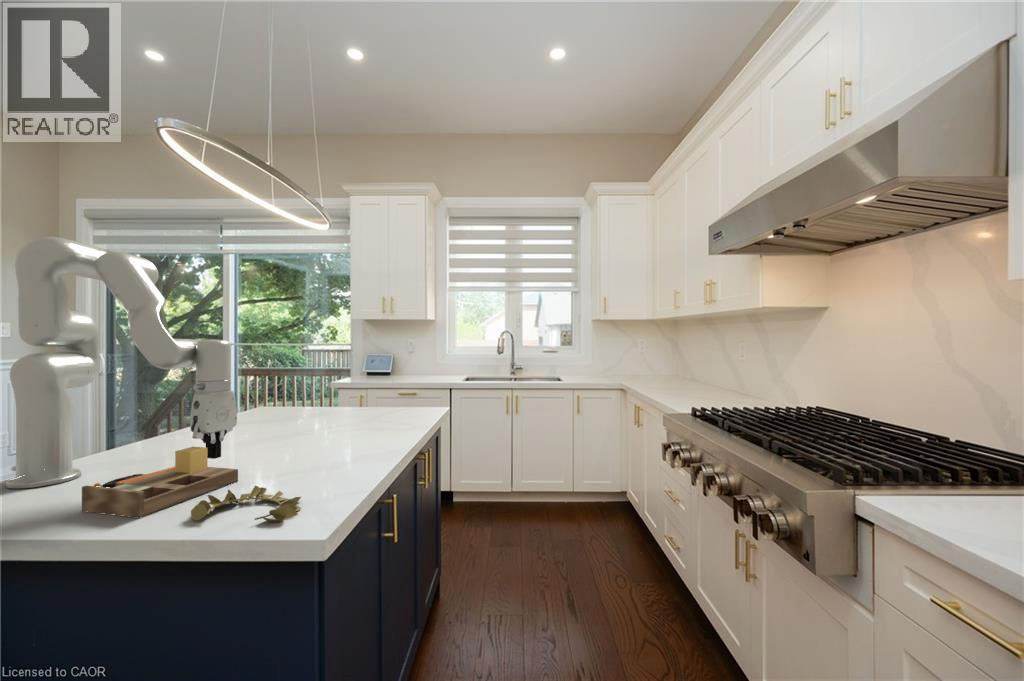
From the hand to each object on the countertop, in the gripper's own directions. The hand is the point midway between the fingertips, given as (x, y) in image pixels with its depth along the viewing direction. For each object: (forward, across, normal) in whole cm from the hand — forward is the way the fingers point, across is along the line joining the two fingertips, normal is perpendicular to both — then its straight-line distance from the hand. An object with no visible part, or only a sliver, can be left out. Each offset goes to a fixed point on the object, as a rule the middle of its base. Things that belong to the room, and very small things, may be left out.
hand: (213, 457), depth 112 cm
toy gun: (+5, -8, +13) cm, 16 cm away
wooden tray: (+4, -15, -4) cm, 16 cm away
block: (+1, -6, 0) cm, 7 cm away
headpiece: (+5, -17, -30) cm, 35 cm away
